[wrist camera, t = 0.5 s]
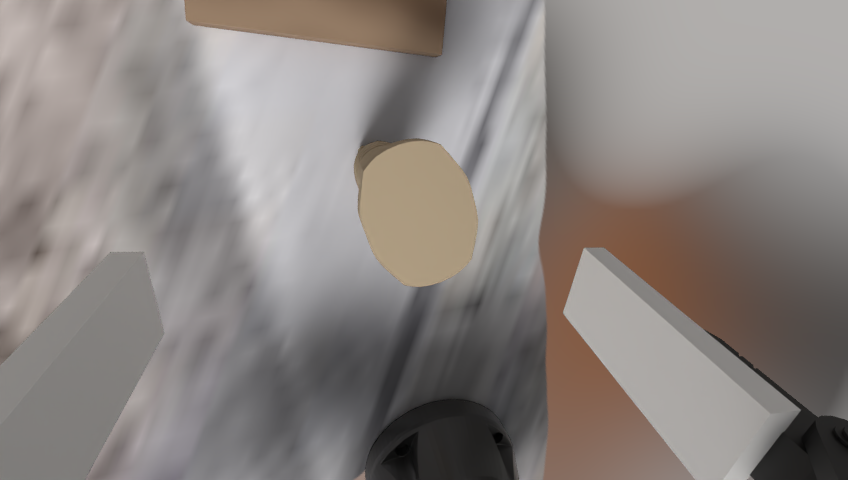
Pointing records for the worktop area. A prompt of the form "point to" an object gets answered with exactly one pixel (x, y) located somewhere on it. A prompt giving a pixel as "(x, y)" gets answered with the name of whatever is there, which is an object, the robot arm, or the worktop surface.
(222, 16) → the board
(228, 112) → the worktop surface
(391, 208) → the handle
